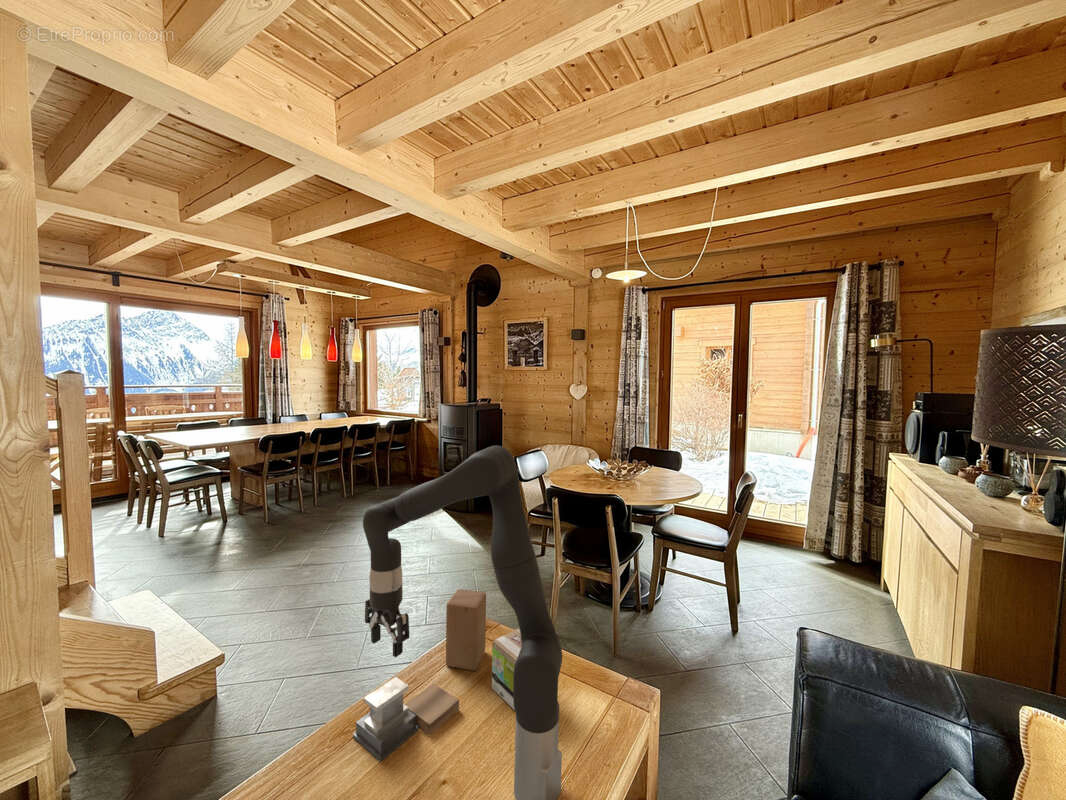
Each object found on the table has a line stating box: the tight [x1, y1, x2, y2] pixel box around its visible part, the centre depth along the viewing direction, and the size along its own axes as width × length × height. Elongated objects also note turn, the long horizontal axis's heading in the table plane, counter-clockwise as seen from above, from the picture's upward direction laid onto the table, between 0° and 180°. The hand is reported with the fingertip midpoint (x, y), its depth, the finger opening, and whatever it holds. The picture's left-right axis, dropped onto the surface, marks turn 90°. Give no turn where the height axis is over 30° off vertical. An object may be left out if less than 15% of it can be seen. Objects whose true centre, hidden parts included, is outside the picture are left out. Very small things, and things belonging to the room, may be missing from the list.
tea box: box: [491, 627, 522, 711], centre depth 119 cm, size 15×10×15 cm, turn 42°
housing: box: [363, 676, 409, 736], centre depth 105 cm, size 9×5×7 cm, turn 144°
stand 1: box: [352, 710, 420, 763], centre depth 106 cm, size 11×11×4 cm
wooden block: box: [445, 588, 487, 671], centre depth 134 cm, size 10×10×20 cm
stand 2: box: [404, 682, 460, 737], centre depth 113 cm, size 10×10×3 cm
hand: (386, 648), depth 105 cm, fingers open, 8 cm apart
